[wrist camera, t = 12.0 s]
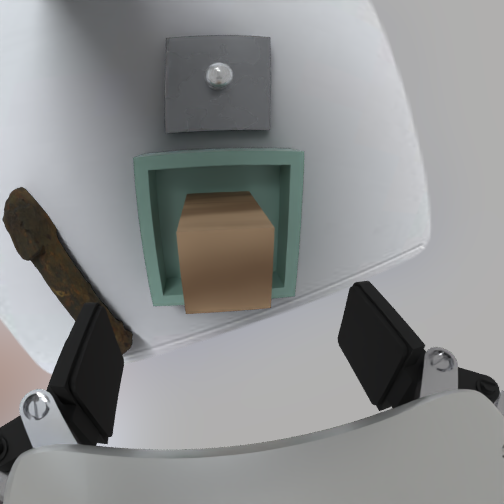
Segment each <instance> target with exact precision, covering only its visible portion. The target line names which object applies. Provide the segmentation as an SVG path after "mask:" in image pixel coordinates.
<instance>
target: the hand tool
mask: <svg viewBox="0 0 504 504" xmlns="http://www.w3.org/2000/svg"><path fill="white" fill-rule="evenodd" d="M2 220H3V222H4V224H5V227H6V229H7V231H8V232H9V234H10V236H11V239H12V241H13V244H14V246H15V248H16V250H17V252H18V253H19V255H20V256H21V257H22V258H23V259H24V260H31V262H32V263H33V264H34V266H35V267H36V268H37V269H38V271H39V272H40V273H41V275H42V276H43V278H44V280H45V281H46V283H47V284H48V286H49V287H50V289H51V290H52V291H53V293H54V294H55V295H56V296H57V298H58V299H59V301H60V302H61V303H62V305H63V306H64V307H65V308H66V309H67V311H68V312H69V314H70V315H71V316H72V317H73V318H74V320H75V321H76V319H77V317H78V315H79V313H80V311H81V309H82V307H83V305H84V303H96V302H98V303H100V304H101V306H104V307H105V308H106V311H107V314H108V317H109V320H110V323H111V326H112V329H113V332H114V334H115V337H116V340H117V343H118V345H119V348H120V350H121V353H122V355H123V354H124V353H125V352H126V351H127V350H128V349H130V347H131V345H132V336H133V334H132V332H131V331H127V330H125V329H124V326H123V323H122V321H117V320H116V319H115V318H114V316H113V315H112V314H111V313H110V311H109V310H108V309H107V307H106V306H105V305H104V304H103V303H102V302H101V301H100V300H99V298H98V297H97V296H96V294H95V293H94V291H93V290H92V289H91V285H90V283H88V282H86V280H85V279H84V277H83V276H82V274H81V273H80V271H79V270H78V269H77V268H76V266H75V265H74V263H73V262H72V260H71V259H70V257H69V256H68V254H67V252H66V251H65V249H64V248H63V246H62V245H61V243H60V242H59V240H58V237H57V234H56V233H57V228H56V227H55V225H54V224H53V222H52V221H51V219H50V218H49V216H48V215H47V214H46V212H45V211H44V210H43V209H42V207H41V206H40V205H39V204H38V203H37V201H36V200H35V199H34V198H33V197H32V196H31V195H30V194H29V193H28V192H27V191H26V190H25V189H24V188H23V187H20V188H17V189H15V190H13V191H12V192H11V193H10V195H9V198H8V199H7V201H6V203H5V208H4V216H3V219H2Z"/></svg>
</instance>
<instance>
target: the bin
mask: <svg viewBox="0 0 504 504" xmlns="http://www.w3.org/2000/svg"><path fill="white" fill-rule="evenodd" d="M133 162H134V176H135V188H136V198H137V207H138V216H139V224H140V232H141V239H142V246H143V252H144V259H145V265H146V270H147V276H148V282H149V287H150V292H151V297H152V302H153V306H171V305H185V304H184V297H183V289H182V281H181V273H180V264H179V254H178V244H177V234H176V232H177V228H178V224H179V221H180V217H181V213H182V210H183V206H184V203H185V199H186V196H187V194H192V193H212V192H239V191H249V192H250V193H251V195H252V196H253V197H254V199H255V200H256V202H257V203H258V205H259V206H260V207H261V209H262V210H263V212H264V213H265V215H266V216H267V217H268V219H269V220H270V222H271V223H272V225H273V226H274V227H275V230H274V254H273V275H272V295H271V299H273V298H283V297H294V296H295V289H296V278H297V267H298V255H299V242H300V228H301V212H302V195H303V175H304V151H300V150H295V149H291V148H217V149H196V150H180V151H167V152H156V153H146V154H142V155H139V156H136V157H134V158H133Z"/></svg>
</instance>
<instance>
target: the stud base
mask: <svg viewBox="0 0 504 504" xmlns="http://www.w3.org/2000/svg"><path fill="white" fill-rule="evenodd" d="M210 130H270V37H260V36H238V35H210V36H188V37H175V38H167V42H166V65H165V133H176V132H190V131H210Z"/></svg>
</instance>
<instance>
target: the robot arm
mask: <svg viewBox="0 0 504 504" xmlns="http://www.w3.org/2000/svg"><path fill="white" fill-rule="evenodd" d="M338 343H339V346H340V348H341V349H342V351H343V353H344V355H345V356H346V358H347V360H348V362H349V363H350V365H351V367H352V369H353V371H354V372H355V374H356V376H357V378H358V379H359V381H360V383H361V385H362V387H363V388H364V390H365V392H366V394H367V396H368V397H369V399H370V401H371V403H372V404H373V405H376V406H377V408H378V410H379V411H380V410H384V409H386V408H389V407H391V406H392V408H393V409H390V410H387V411H384V412H381V413H379V414H376V415H373V416H370V417H367V418H364V419H361V420H358V421H354V422H351V423H348V424H344V425H341V426H338V427H334V428H330V429H326V430H322V431H318V432H314V433H309V434H305V435H301V436H296V437H291V438H286V439H281V440H275V441H269V442H262V443H256V444H248V445H240V446H231V447H220V448H208V449H207V448H206V449H184V450H153V449H128V448H113V447H102V446H96V444H97V443H102V444H108V437H111V436H112V434H113V426H114V420H115V412H116V406H117V400H118V393H119V388H120V383H121V377H122V372H123V367H124V359H123V356H122V353H121V350H120V348H119V345H118V343H117V340H116V337H115V334H114V332H113V329H112V326H111V323H110V320H109V317H108V314H107V311H106V308H105V307H104V306H101V304H100V303H98V302H96V303H84V305H83V307H82V309H81V311H80V313H79V315H78V317H77V319H76V321H75V324H74V326H73V328H72V330H71V332H70V335H69V337H68V339H67V340H66V342H65V344H64V347H63V349H62V351H61V354H60V356H59V359H58V361H57V364H56V366H55V369H54V371H53V374H52V376H51V379H50V382H49V385H48V387H47V390H42V389H37V390H33V391H31V392H29V393H28V394H26V395H25V396H24V398H23V399H22V401H21V403H20V408H19V410H20V416H18V417H17V418H15V419H14V420H12V421H10V422H9V423H7V424H5V425H4V426H2V427H1V428H0V504H504V391H501V392H500V391H499V387H498V385H497V383H496V382H495V381H494V380H493V379H492V378H491V377H489V376H486V375H483V374H479V373H476V372H473V371H469V370H465V369H462V368H459V367H458V364H457V360H456V358H455V356H454V355H453V354H452V353H451V352H450V351H448V350H446V349H444V348H440V347H434V348H431V349H428V351H427V352H426V351H425V350H424V347H425V345H424V343H423V342H422V341H421V340H420V338H419V337H418V336H417V335H416V334H415V332H414V331H413V330H412V329H411V328H410V327H409V325H408V324H407V323H406V322H405V321H404V320H403V318H401V316H400V315H399V314H398V313H397V312H396V311H395V309H394V308H393V307H392V306H391V305H390V304H389V303H388V301H387V300H386V299H385V298H384V297H383V296H382V295H381V294H380V293H379V292H378V290H377V289H376V288H375V287H374V286H373V285H372V284H371V283H370V282H369V281H362V282H356V283H354V284H353V286H352V287H350V289H349V293H348V298H347V302H346V307H345V311H344V315H343V319H342V323H341V327H340V331H339V335H338Z"/></svg>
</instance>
